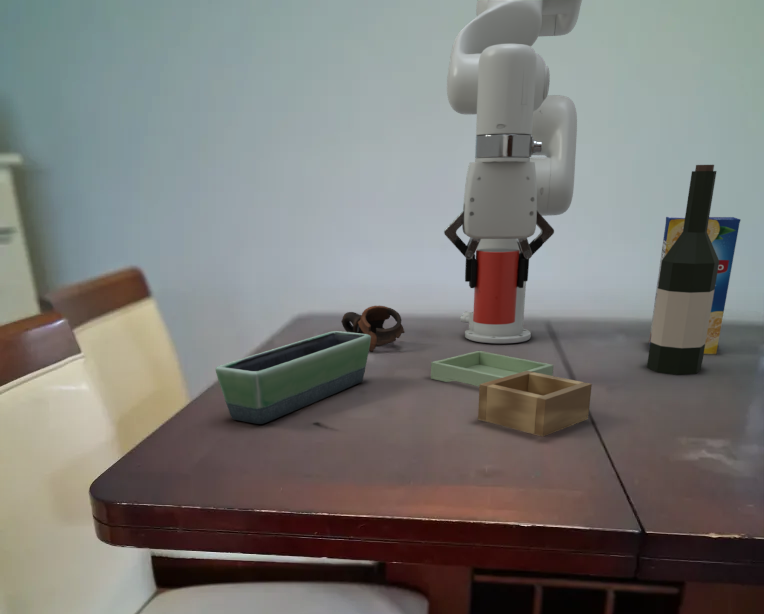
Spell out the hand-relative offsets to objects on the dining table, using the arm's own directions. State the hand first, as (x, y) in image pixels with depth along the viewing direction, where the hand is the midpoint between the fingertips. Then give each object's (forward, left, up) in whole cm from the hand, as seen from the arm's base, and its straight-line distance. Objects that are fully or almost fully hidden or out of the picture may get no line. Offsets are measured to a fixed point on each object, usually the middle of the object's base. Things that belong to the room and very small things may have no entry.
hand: (495, 285), depth 109 cm
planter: (-12, -27, -14) cm, 33 cm away
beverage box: (+10, +42, -14) cm, 45 cm away
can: (0, 0, -5) cm, 5 cm away
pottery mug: (-32, +5, -14) cm, 35 cm away
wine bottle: (+16, +27, -14) cm, 34 cm away
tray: (0, 0, -14) cm, 14 cm away
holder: (+17, -13, -14) cm, 26 cm away
